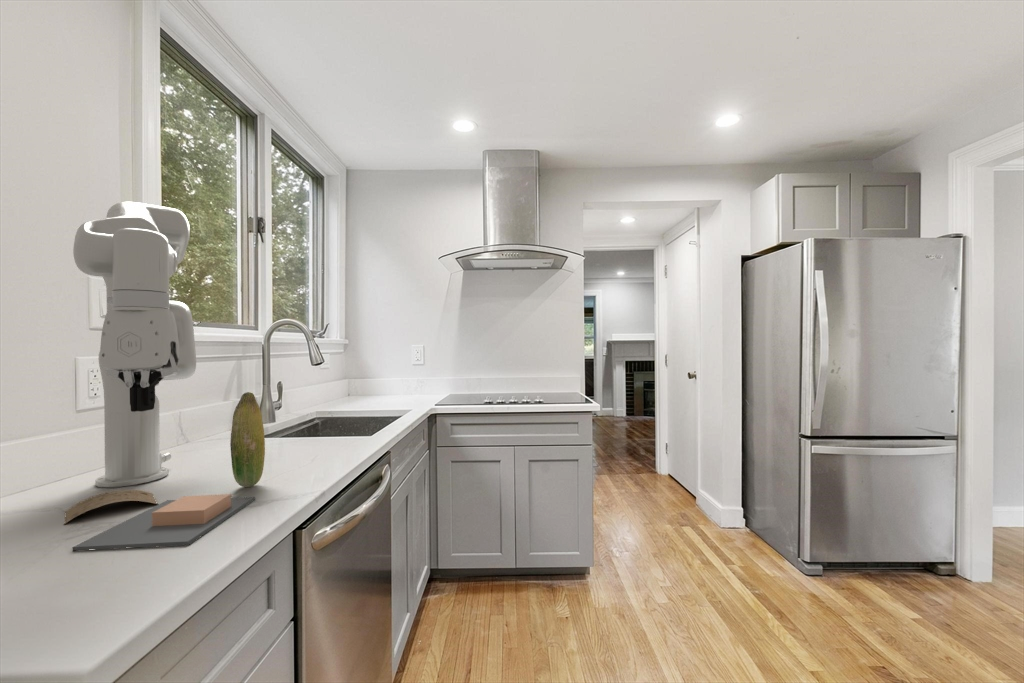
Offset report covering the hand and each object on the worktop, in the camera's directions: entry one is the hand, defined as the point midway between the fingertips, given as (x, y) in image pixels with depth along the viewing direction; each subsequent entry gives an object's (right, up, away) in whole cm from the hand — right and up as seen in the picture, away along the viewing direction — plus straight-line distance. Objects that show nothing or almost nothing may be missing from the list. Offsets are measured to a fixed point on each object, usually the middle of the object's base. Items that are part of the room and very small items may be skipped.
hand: (142, 410), depth 77 cm
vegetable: (+8, -19, +17) cm, 27 cm away
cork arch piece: (-11, -20, +7) cm, 24 cm away
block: (+5, -17, 0) cm, 18 cm away
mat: (+6, -19, -1) cm, 20 cm away
